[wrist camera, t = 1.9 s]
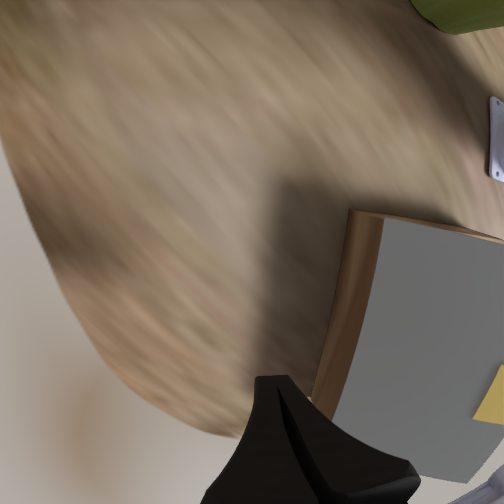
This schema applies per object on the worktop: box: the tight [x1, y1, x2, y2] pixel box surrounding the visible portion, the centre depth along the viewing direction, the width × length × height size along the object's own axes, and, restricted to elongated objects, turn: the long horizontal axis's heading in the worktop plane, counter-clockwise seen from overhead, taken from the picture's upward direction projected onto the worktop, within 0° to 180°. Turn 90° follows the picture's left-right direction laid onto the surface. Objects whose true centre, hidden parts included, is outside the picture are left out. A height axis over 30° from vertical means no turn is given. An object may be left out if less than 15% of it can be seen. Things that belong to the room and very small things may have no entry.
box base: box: [311, 209, 504, 421], centre depth 20 cm, size 12×16×5 cm
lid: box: [332, 217, 504, 483], centre depth 13 cm, size 12×16×1 cm
